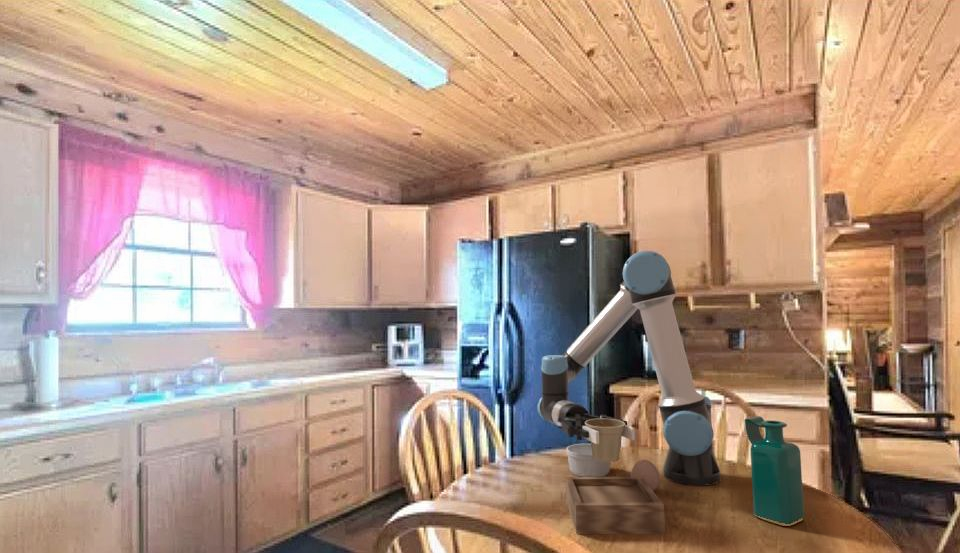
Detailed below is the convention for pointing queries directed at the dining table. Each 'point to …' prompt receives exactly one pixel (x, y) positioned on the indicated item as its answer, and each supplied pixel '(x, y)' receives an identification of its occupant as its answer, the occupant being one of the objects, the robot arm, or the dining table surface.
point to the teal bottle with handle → (775, 472)
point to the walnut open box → (614, 506)
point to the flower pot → (606, 439)
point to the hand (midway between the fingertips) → (615, 436)
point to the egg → (646, 473)
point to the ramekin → (585, 462)
